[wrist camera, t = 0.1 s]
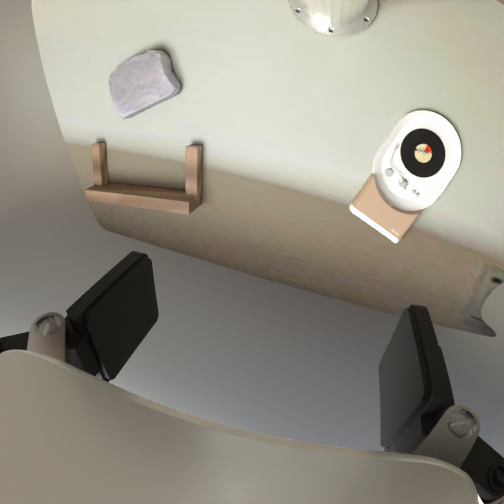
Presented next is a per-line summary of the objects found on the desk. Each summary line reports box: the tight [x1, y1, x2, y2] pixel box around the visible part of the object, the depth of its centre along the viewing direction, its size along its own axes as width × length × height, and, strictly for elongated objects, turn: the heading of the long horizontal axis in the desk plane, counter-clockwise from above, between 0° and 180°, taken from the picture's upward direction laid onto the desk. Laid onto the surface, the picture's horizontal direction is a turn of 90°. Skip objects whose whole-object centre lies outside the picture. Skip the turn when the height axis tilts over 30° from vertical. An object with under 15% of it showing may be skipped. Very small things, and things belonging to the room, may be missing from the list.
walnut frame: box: [85, 143, 203, 215], centre depth 48 cm, size 10×22×5 cm, turn 86°
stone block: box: [109, 50, 181, 119], centre depth 42 cm, size 12×5×10 cm
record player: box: [349, 110, 461, 244], centre depth 39 cm, size 12×3×20 cm
